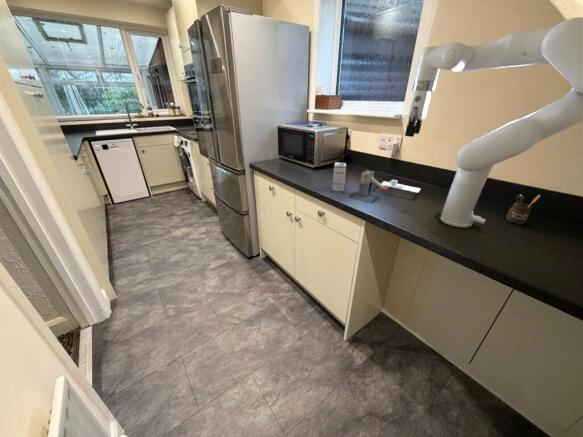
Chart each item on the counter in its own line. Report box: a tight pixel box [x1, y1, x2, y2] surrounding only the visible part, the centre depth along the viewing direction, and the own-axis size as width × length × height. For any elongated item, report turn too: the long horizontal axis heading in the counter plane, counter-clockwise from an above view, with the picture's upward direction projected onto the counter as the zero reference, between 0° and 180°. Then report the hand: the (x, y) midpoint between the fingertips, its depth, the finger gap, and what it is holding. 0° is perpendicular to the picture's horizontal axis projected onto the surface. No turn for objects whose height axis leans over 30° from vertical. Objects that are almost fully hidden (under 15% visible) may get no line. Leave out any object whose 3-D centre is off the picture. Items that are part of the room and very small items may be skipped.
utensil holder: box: [505, 194, 542, 225], centre depth 92 cm, size 6×6×12 cm
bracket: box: [357, 169, 376, 198], centre depth 112 cm, size 11×9×13 cm
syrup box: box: [332, 161, 347, 192], centre depth 118 cm, size 6×6×14 cm
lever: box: [366, 172, 389, 193], centre depth 108 cm, size 12×5×2 cm, turn 53°
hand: (412, 134), depth 96 cm, fingers open, 9 cm apart
